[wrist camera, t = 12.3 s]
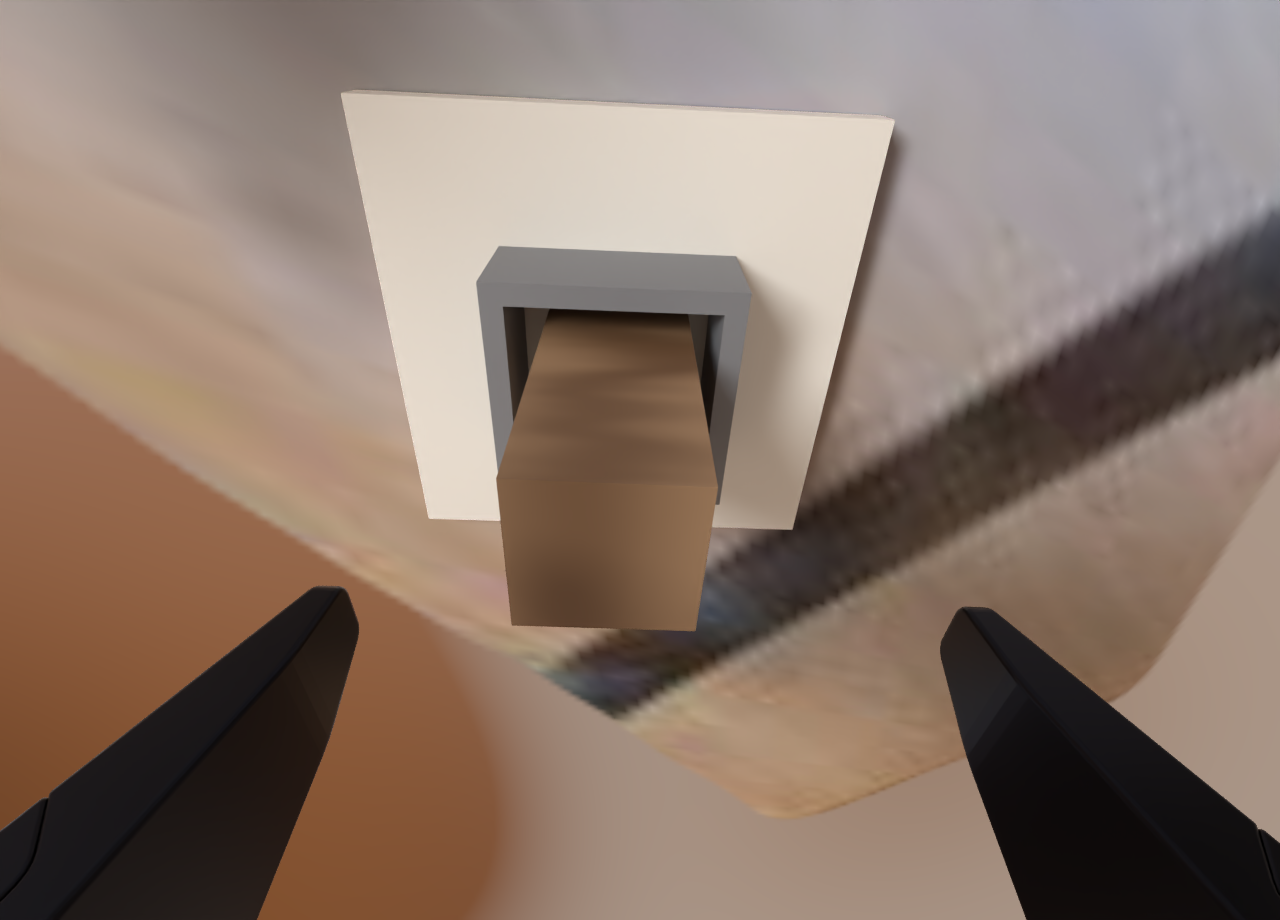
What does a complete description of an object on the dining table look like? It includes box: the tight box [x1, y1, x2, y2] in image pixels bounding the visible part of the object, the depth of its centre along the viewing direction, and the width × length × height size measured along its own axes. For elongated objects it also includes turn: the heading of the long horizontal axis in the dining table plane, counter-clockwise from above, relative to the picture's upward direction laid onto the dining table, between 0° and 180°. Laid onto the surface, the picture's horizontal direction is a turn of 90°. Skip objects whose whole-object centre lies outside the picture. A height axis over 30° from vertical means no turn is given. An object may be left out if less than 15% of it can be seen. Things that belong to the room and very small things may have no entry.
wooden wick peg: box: [496, 308, 718, 631], centre depth 16 cm, size 4×4×9 cm
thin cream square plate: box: [341, 90, 895, 530], centre depth 19 cm, size 14×14×4 cm
